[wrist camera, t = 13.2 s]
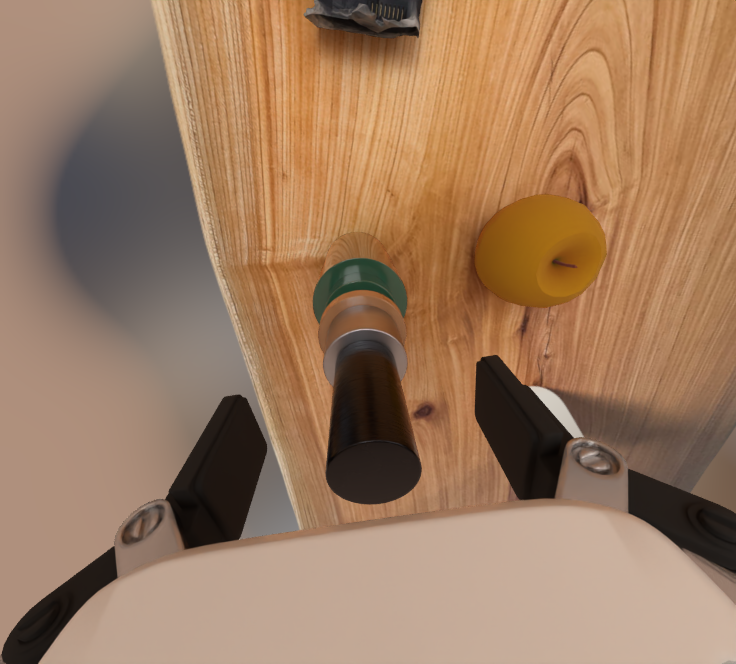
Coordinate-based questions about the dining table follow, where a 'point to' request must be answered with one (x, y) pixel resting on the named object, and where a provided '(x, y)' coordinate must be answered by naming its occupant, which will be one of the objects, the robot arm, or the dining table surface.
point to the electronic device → (368, 16)
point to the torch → (368, 409)
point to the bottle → (358, 282)
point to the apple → (540, 251)
